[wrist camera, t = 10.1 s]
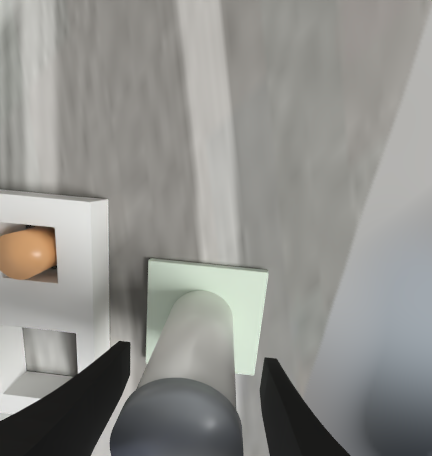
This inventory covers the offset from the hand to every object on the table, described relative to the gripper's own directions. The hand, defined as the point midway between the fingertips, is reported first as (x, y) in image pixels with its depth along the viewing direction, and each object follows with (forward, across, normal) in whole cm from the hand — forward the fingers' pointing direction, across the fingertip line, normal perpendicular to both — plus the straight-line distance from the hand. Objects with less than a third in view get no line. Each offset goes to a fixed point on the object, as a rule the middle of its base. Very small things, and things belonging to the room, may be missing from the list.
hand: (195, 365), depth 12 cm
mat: (+4, 0, 0) cm, 4 cm away
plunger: (+4, +11, -4) cm, 12 cm away
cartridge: (+4, 0, 0) cm, 4 cm away
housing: (+4, +11, 0) cm, 12 cm away
